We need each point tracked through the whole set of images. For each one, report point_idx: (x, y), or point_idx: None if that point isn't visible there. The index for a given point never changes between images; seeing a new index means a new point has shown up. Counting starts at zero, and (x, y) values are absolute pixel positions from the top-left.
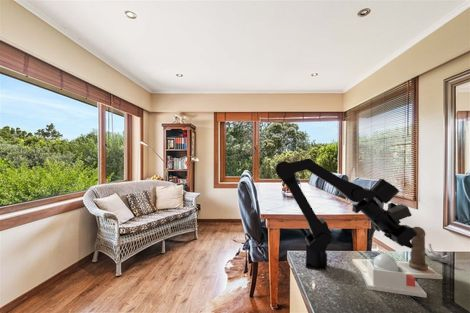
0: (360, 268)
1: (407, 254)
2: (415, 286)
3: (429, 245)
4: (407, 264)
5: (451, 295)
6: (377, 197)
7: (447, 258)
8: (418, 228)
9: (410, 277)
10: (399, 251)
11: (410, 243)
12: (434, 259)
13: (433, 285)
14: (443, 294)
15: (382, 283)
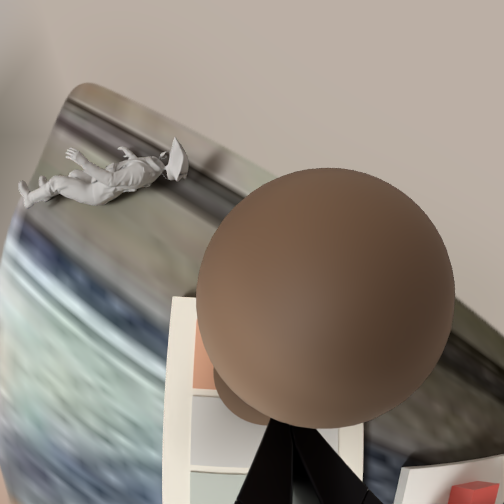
0: None
1: (36, 280)
2: (476, 479)
3: (81, 162)
4: (219, 415)
5: (480, 358)
6: None
7: (187, 159)
8: (445, 277)
9: (489, 499)
10: (2, 295)
11: (326, 447)
12: (118, 195)
13: (423, 388)
14: (480, 385)
15: None
